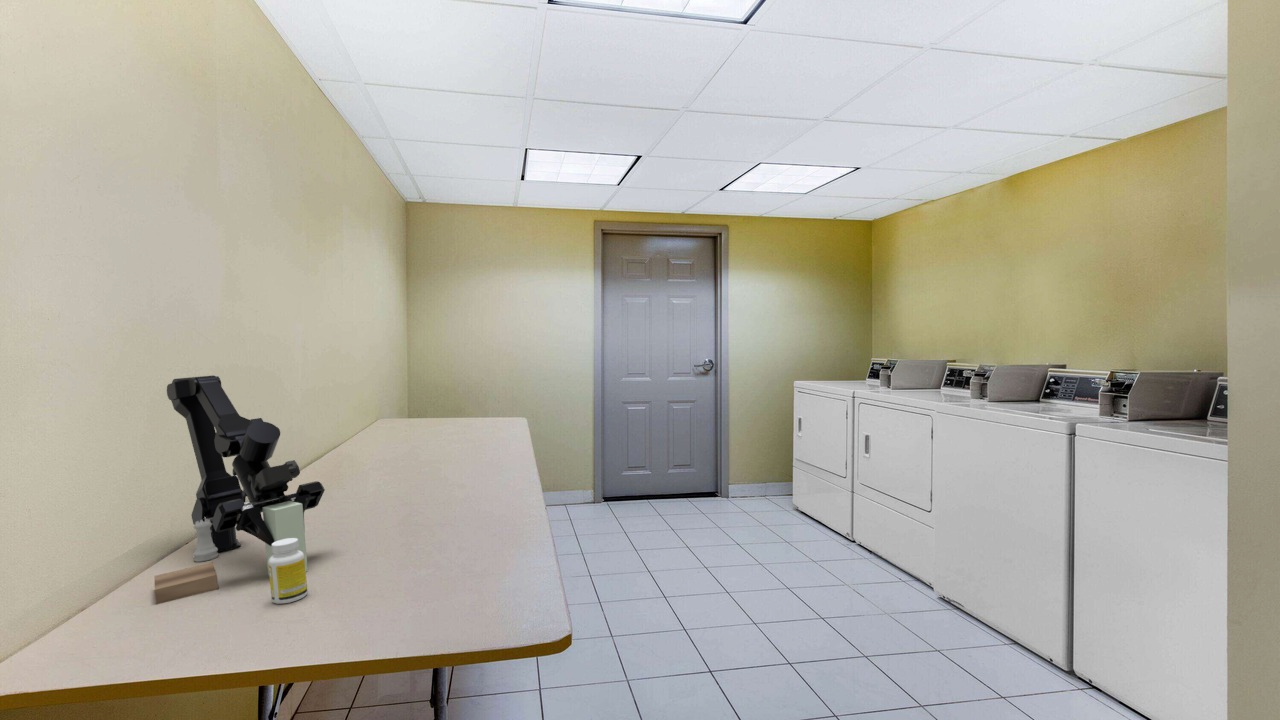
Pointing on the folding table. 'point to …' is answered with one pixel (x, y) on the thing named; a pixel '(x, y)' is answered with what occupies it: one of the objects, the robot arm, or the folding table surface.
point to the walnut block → (185, 583)
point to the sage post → (285, 525)
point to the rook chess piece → (204, 542)
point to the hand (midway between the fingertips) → (288, 540)
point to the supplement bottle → (287, 572)
